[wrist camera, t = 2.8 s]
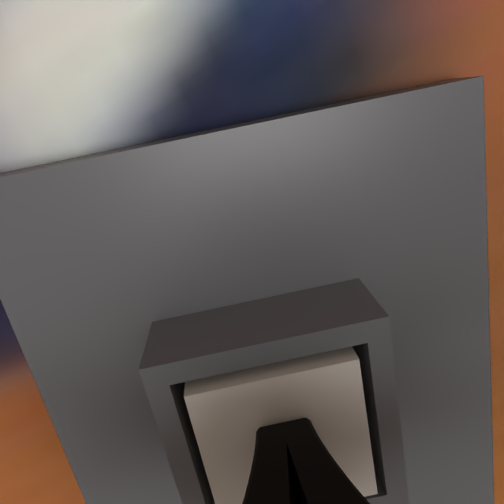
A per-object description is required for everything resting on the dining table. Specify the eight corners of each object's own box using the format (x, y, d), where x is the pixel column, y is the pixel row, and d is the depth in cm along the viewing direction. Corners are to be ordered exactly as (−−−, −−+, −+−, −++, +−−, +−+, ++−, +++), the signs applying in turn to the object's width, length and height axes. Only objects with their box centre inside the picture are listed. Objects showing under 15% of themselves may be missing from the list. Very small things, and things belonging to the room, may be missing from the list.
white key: (338, 321, 13) (359, 359, 11) (356, 442, 15) (377, 493, 13) (188, 353, 13) (183, 397, 11) (221, 471, 14) (221, 527, 13)
